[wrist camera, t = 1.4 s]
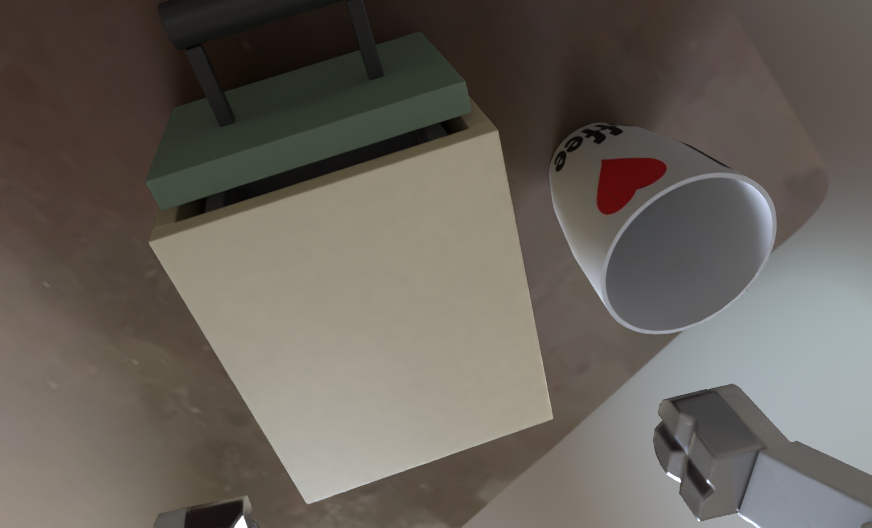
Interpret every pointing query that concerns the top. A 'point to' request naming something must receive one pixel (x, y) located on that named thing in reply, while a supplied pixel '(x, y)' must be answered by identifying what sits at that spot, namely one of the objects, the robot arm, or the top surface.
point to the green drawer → (294, 107)
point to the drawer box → (370, 308)
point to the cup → (659, 225)
